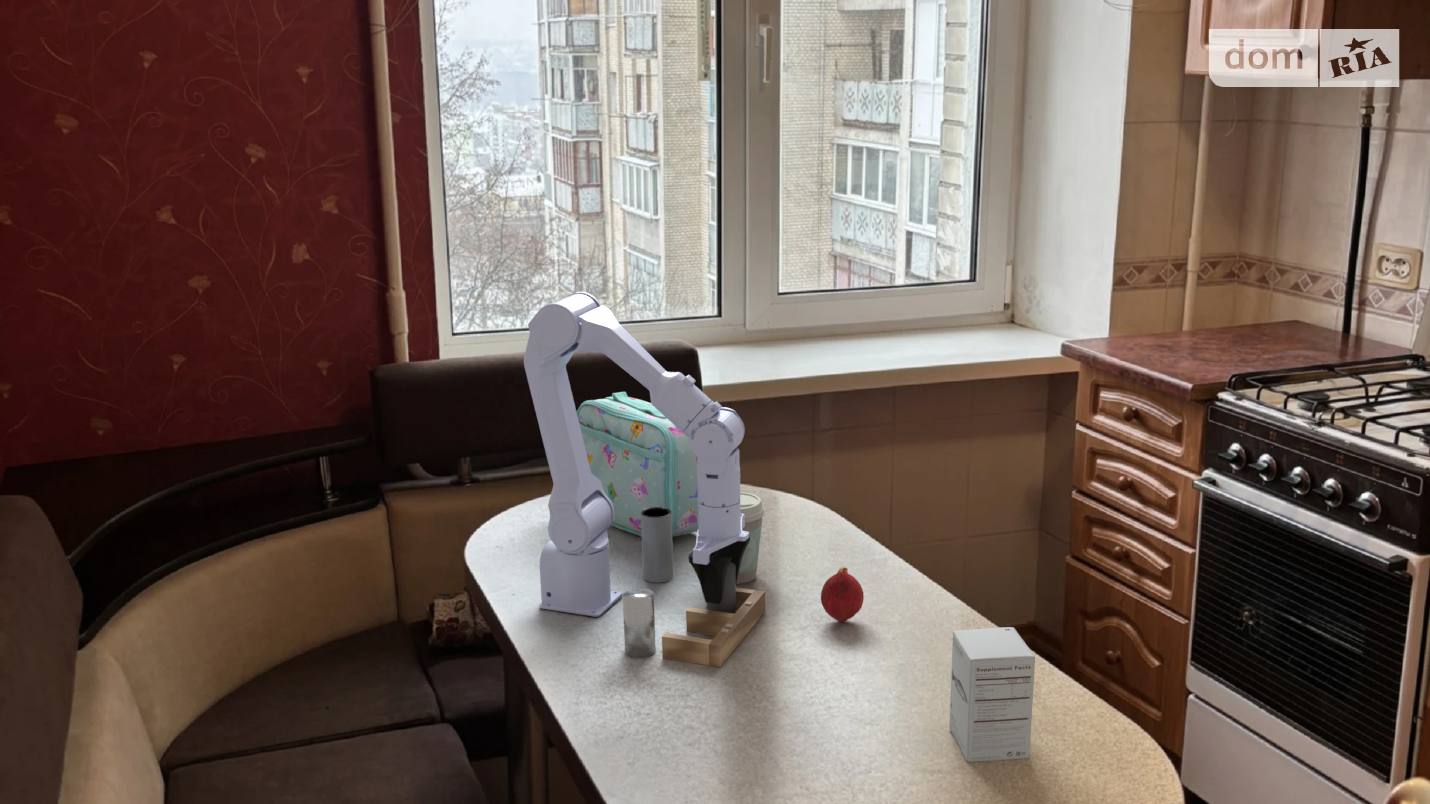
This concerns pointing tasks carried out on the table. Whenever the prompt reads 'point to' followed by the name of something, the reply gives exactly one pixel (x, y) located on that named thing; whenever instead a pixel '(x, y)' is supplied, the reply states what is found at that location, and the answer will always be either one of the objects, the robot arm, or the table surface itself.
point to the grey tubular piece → (657, 544)
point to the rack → (715, 630)
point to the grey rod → (639, 623)
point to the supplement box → (991, 694)
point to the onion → (842, 596)
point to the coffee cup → (753, 524)
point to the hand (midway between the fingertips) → (720, 594)
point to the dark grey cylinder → (727, 593)
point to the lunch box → (640, 461)
